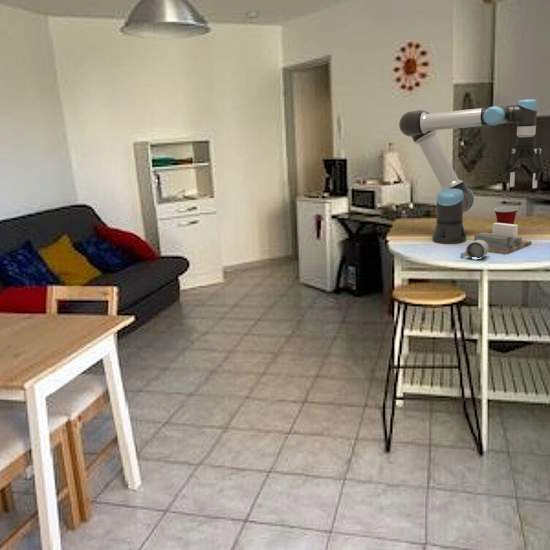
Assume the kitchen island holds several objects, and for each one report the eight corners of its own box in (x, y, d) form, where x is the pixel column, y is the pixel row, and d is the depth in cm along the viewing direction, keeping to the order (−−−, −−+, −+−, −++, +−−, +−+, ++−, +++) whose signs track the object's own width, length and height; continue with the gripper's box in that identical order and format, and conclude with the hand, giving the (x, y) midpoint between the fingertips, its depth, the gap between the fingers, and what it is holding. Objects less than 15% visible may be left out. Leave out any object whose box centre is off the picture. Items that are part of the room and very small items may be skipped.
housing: (496, 240, 262) (497, 226, 260) (531, 244, 250) (532, 229, 248) (471, 249, 248) (471, 234, 246) (506, 254, 236) (507, 239, 234)
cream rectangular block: (495, 240, 255) (496, 222, 252) (517, 242, 247) (518, 224, 245) (492, 241, 253) (492, 223, 251) (513, 244, 245) (514, 226, 243)
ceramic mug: (489, 256, 236) (489, 238, 234) (484, 261, 229) (485, 242, 227) (463, 254, 241) (463, 237, 239) (458, 259, 235) (458, 241, 233)
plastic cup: (487, 232, 279) (488, 207, 276) (504, 229, 283) (506, 205, 279) (504, 235, 269) (505, 210, 266) (521, 232, 273) (523, 207, 270)
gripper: (555, 135, 243) (552, 187, 249) (505, 135, 260) (503, 184, 266) (547, 136, 238) (544, 189, 245) (497, 137, 255) (495, 187, 261)
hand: (523, 187), depth 255 cm, fingers open, 10 cm apart
